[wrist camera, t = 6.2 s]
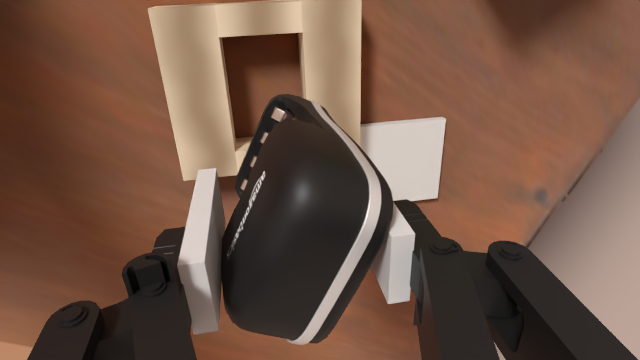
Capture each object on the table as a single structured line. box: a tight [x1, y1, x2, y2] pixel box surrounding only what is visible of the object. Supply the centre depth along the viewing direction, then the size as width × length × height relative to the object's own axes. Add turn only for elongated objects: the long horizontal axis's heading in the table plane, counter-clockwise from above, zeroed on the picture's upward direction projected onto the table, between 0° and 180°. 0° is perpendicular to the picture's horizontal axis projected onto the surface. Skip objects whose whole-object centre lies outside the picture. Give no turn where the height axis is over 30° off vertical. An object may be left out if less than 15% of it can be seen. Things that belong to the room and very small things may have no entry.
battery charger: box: [221, 94, 394, 345], centre depth 17 cm, size 7×4×11 cm, turn 154°
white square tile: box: [360, 117, 446, 201], centre depth 42 cm, size 9×9×1 cm
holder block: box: [148, 0, 362, 181], centre depth 35 cm, size 16×14×4 cm
